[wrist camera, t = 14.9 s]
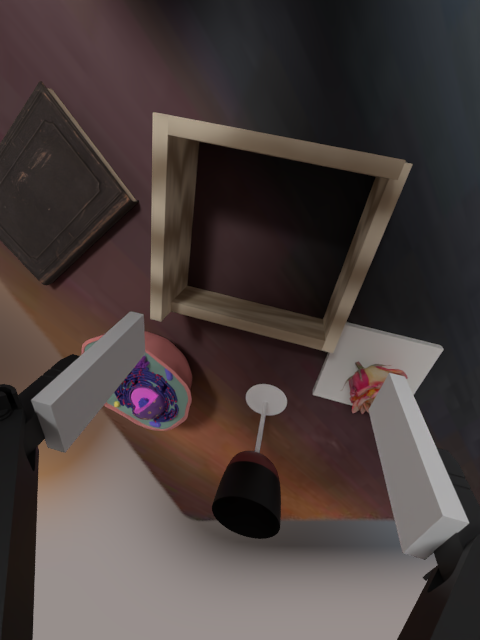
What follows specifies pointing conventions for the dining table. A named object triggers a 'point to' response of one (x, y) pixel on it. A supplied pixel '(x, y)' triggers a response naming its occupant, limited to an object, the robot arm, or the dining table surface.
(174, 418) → the cell model
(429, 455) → the robot arm
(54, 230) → the hardcover book
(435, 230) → the dining table surface
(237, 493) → the wineglass
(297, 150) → the frame
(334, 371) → the tile
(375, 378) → the flower
